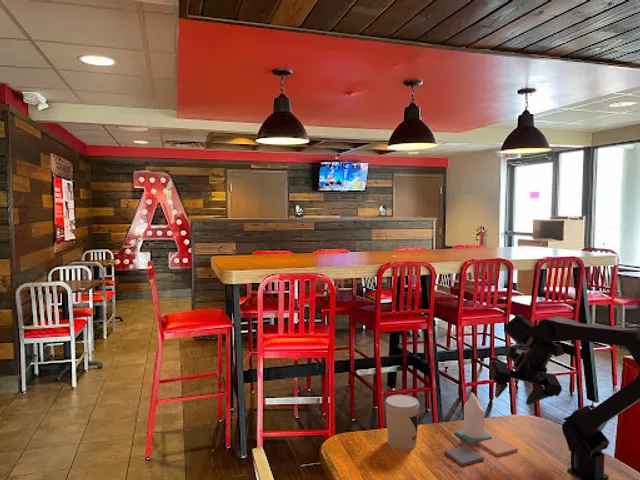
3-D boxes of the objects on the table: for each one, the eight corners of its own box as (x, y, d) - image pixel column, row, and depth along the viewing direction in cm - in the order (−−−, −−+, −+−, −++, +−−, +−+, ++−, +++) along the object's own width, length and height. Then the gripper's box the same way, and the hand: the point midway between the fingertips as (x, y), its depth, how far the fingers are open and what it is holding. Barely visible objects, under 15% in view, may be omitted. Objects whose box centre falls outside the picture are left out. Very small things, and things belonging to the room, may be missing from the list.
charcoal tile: (483, 460, 123) (483, 457, 123) (461, 466, 121) (461, 463, 121) (465, 448, 130) (465, 445, 130) (444, 453, 127) (444, 450, 127)
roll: (487, 396, 132) (467, 396, 133) (487, 439, 133) (466, 439, 133) (481, 388, 138) (461, 388, 139) (480, 429, 139) (461, 429, 139)
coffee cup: (419, 452, 127) (419, 408, 127) (383, 449, 129) (383, 406, 129) (419, 436, 137) (419, 395, 136) (386, 434, 139) (386, 393, 138)
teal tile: (491, 439, 135) (491, 436, 135) (471, 444, 132) (471, 441, 132) (474, 429, 141) (474, 426, 141) (455, 433, 138) (455, 431, 138)
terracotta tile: (517, 451, 128) (517, 448, 128) (497, 456, 125) (497, 453, 125) (498, 440, 134) (498, 437, 134) (478, 444, 132) (478, 442, 132)
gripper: (557, 346, 134) (532, 386, 141) (494, 330, 133) (472, 372, 140) (574, 373, 124) (547, 416, 131) (507, 357, 123) (482, 401, 130)
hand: (511, 400), depth 133 cm, fingers open, 9 cm apart
